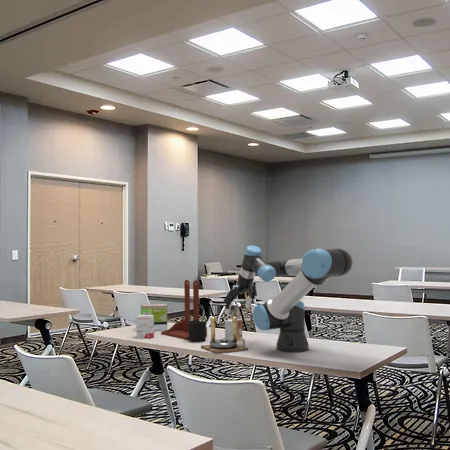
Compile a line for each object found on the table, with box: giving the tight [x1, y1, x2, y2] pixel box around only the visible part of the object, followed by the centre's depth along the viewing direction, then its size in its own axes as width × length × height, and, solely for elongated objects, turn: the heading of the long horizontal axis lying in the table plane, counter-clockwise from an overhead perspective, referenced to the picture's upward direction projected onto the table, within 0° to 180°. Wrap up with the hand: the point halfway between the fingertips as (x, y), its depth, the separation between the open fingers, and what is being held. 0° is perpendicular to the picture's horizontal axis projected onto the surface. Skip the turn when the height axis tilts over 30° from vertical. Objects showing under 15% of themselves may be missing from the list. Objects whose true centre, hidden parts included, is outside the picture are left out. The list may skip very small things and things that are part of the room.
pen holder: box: [188, 319, 207, 343], centre depth 278 cm, size 9×9×10 cm
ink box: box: [135, 314, 155, 339], centre depth 289 cm, size 9×5×12 cm, turn 79°
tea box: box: [140, 303, 168, 332], centre depth 314 cm, size 15×10×15 cm
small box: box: [224, 318, 243, 342], centre depth 278 cm, size 8×6×10 cm
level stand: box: [200, 336, 249, 355], centre depth 255 cm, size 17×17×6 cm
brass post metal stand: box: [209, 316, 239, 349], centre depth 256 cm, size 13×13×14 cm
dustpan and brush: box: [160, 279, 208, 341], centre depth 294 cm, size 24×13×30 cm, turn 41°
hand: (237, 310), depth 272 cm, fingers open, 13 cm apart
